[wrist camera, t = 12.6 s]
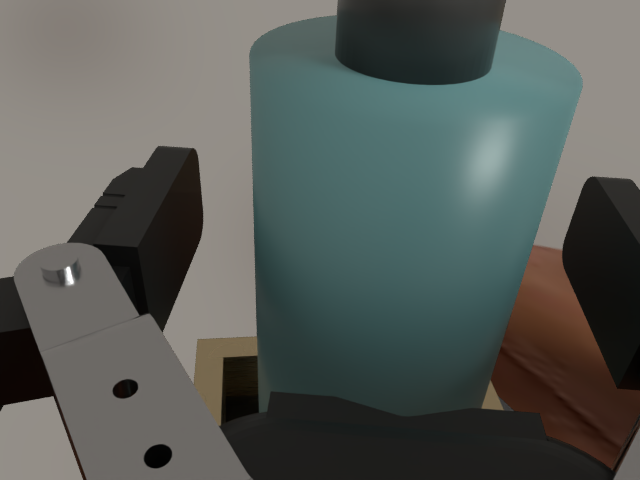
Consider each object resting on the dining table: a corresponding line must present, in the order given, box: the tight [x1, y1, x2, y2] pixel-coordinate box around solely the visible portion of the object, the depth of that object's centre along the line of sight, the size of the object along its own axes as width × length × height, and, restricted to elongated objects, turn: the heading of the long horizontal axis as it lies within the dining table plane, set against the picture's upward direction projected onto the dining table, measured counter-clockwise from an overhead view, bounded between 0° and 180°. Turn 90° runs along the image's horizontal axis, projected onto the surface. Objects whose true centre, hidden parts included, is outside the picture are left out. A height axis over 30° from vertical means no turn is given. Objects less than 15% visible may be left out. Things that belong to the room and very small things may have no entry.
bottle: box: [249, 0, 582, 417], centre depth 12 cm, size 5×5×14 cm
